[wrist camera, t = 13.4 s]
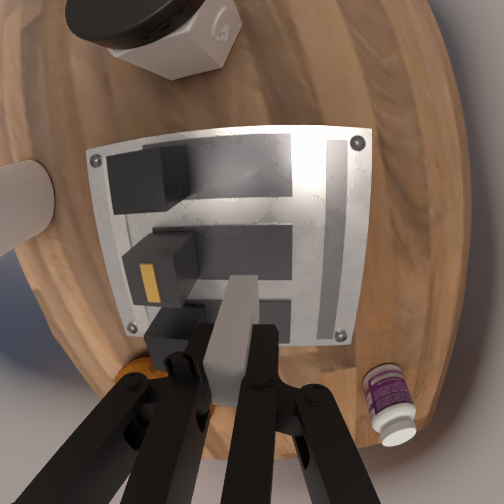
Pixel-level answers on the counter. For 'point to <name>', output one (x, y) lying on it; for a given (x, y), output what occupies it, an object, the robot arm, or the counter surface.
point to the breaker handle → (162, 269)
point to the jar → (159, 32)
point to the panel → (242, 224)
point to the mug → (24, 203)
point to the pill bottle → (390, 404)
